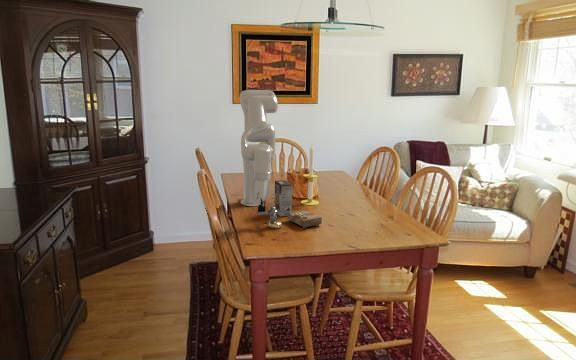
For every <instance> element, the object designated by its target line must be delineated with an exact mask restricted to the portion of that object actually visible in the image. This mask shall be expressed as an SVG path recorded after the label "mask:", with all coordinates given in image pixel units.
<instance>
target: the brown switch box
mask: <svg viewBox="0 0 576 360" xmlns="http://www.w3.org/2000/svg"><path fill="white" fill-rule="evenodd" d="M286 219H287V220H288V221H289V223H295V224H297V225H299V226H301V227H302V229H303V230H306V229H308V227H312V226H314V227H319V226H320V225H322V224H323V223H322V219H323V218H322V217H321V216H319V215H318V214H315V213H313V212H310V211H309V210H307V209H301V210H300V209H299V210H295V211H292V212H289V213H287V216H286Z"/></svg>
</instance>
